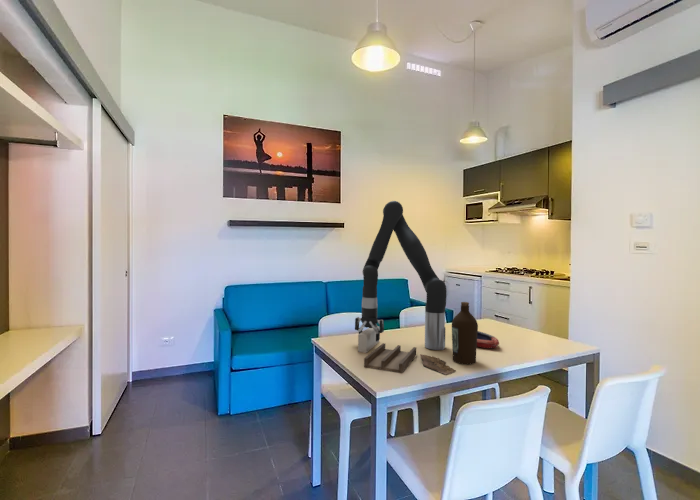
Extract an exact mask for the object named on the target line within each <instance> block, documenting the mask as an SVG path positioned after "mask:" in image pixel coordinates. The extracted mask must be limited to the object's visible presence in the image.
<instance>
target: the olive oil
mask: <svg viewBox="0 0 700 500" xmlns="http://www.w3.org/2000/svg"><path fill="white" fill-rule="evenodd" d="M469 304H470V303H469V301H461V302H460V311H459V312H458V313H457V314H456V315H455V316H454V317H453V318H452V321H451V341H452V342H451V345H452V346H451V347H452V362H454V363H456V364H460V365H473V364H476V362H477V349H478V347H477V333H478V331H479V330H478V329H479V323H478V321H477V319H476V318H475V316H474V315H473V314H472V313H471V312H470V305H469Z"/></svg>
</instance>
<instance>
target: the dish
mask: <svg viewBox="0 0 700 500" xmlns="http://www.w3.org/2000/svg"><path fill="white" fill-rule="evenodd" d="M499 345H500V342H499V339H498V338H497V337H495V336H494V335H492V334H489V333H487V332H482V331H479V330H478V333H477V348H482V349H496V348H498V346H499Z"/></svg>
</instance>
